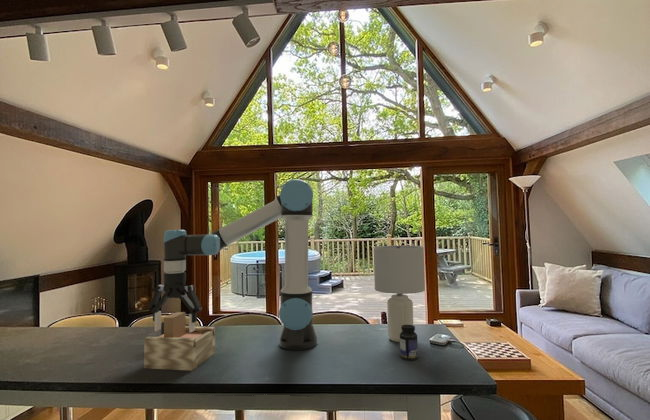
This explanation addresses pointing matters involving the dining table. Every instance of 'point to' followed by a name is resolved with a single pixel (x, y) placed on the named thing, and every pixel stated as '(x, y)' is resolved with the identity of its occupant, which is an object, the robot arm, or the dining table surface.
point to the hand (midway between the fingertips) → (174, 330)
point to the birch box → (179, 350)
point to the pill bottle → (408, 343)
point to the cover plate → (178, 327)
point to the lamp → (399, 282)
